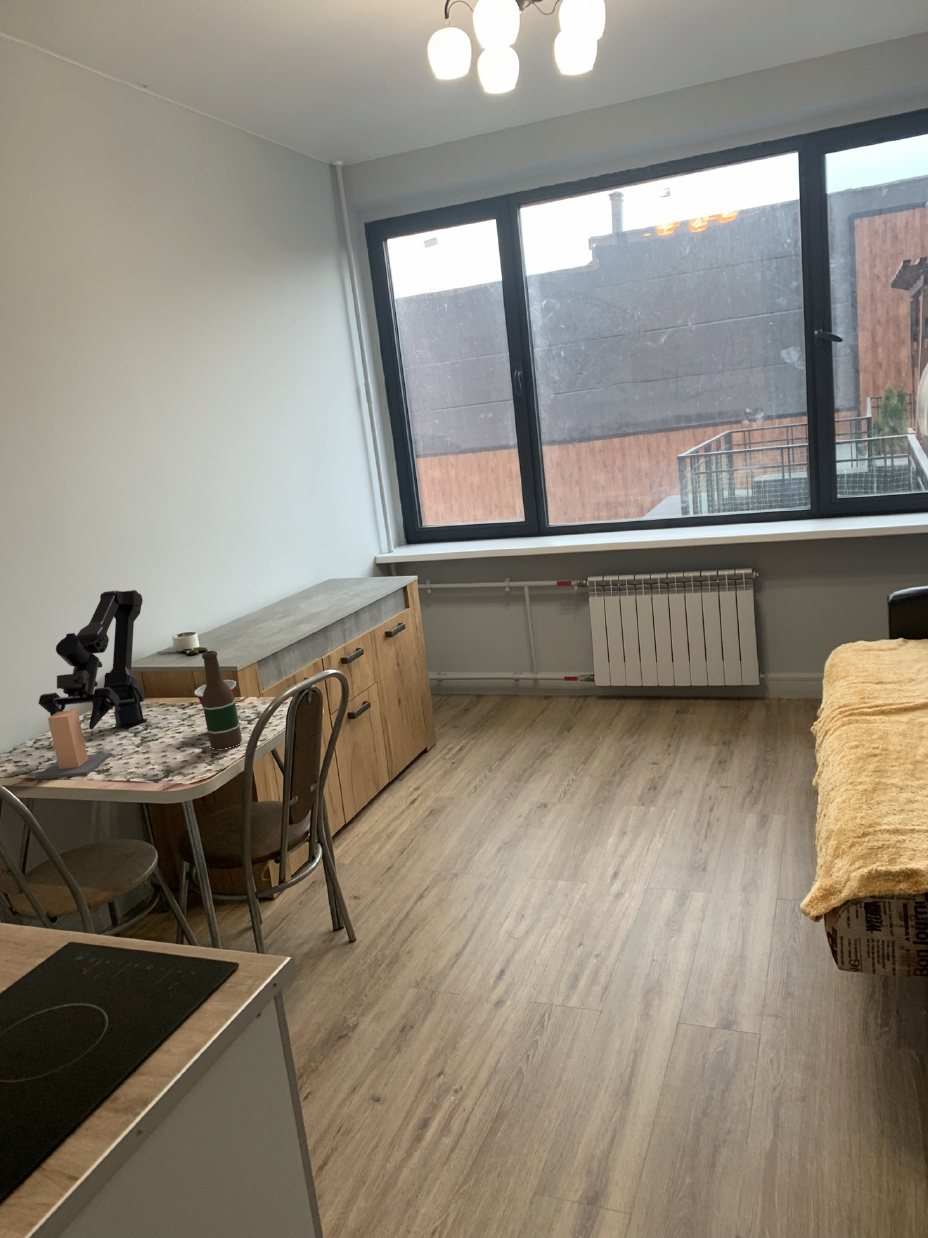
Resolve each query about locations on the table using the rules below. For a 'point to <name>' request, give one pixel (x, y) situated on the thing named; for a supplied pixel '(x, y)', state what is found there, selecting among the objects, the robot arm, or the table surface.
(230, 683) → the plastic cup
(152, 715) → the table surface
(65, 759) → the block
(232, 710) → the beer bottle
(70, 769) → the mat
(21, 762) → the table surface
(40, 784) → the table surface
